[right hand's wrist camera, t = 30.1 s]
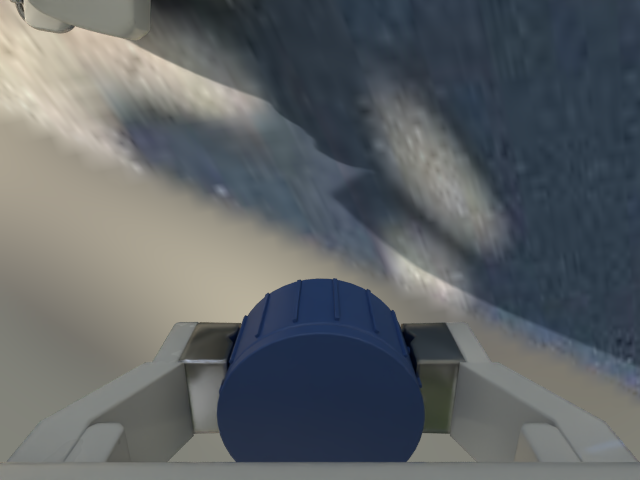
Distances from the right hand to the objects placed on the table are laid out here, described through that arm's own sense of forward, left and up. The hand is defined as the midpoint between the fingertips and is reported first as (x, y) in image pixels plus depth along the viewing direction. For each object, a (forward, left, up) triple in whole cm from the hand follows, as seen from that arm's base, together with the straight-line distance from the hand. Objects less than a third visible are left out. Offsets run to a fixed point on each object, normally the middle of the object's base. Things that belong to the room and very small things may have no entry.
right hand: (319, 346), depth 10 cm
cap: (0, 0, +2) cm, 2 cm away
